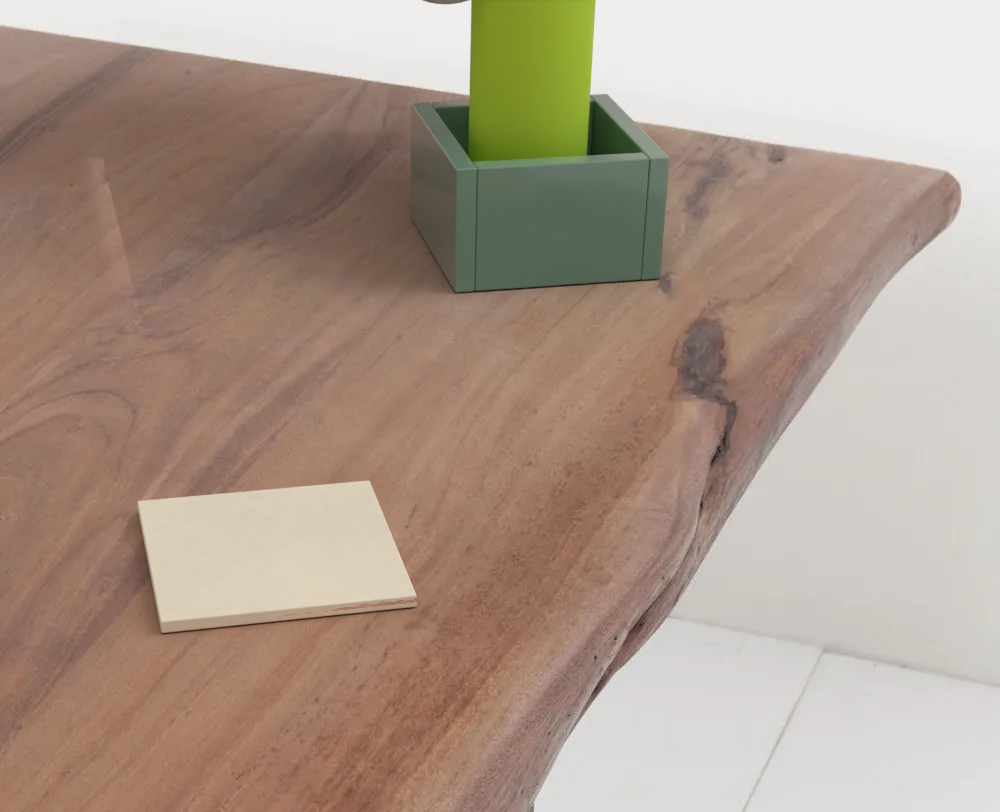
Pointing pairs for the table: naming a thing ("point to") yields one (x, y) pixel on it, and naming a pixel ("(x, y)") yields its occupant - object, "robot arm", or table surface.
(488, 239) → the holder
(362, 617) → the table surface
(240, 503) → the mat
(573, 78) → the soap dispenser
